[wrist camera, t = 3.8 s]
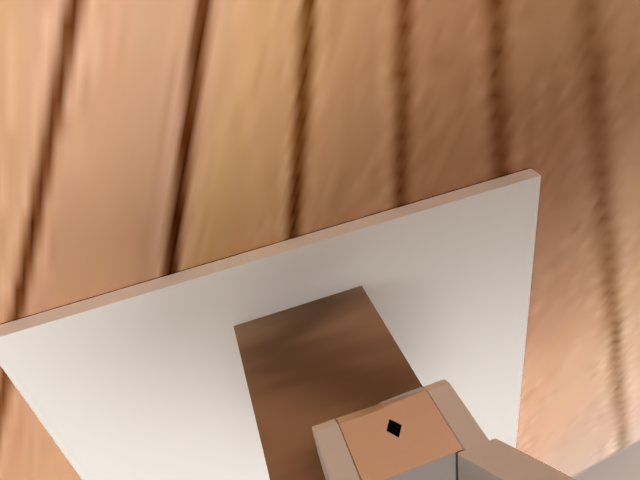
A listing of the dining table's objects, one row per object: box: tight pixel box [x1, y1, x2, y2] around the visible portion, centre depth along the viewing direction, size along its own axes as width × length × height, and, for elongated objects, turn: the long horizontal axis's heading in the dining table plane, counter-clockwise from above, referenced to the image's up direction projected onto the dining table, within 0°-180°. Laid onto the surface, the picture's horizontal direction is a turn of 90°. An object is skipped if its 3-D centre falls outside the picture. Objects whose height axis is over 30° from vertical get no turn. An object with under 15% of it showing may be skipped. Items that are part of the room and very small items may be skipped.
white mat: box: [0, 168, 541, 480], centre depth 29 cm, size 24×24×1 cm
